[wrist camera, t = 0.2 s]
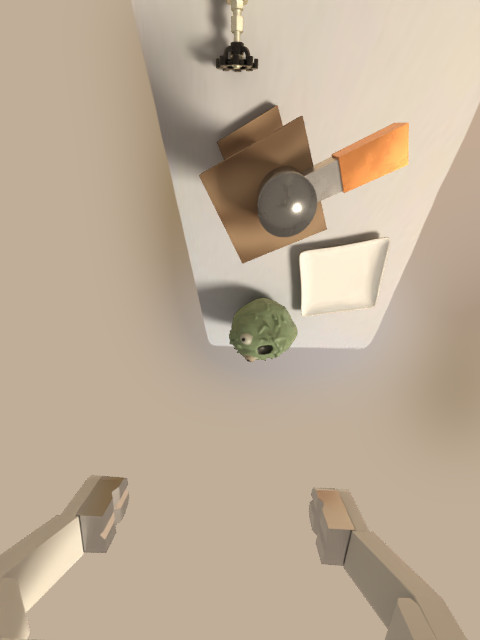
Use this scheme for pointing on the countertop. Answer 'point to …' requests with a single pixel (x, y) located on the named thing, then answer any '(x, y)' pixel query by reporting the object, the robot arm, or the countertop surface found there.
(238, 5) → the valve
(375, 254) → the salad plate
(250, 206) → the stand
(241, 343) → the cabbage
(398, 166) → the valve lever
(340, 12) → the countertop surface
